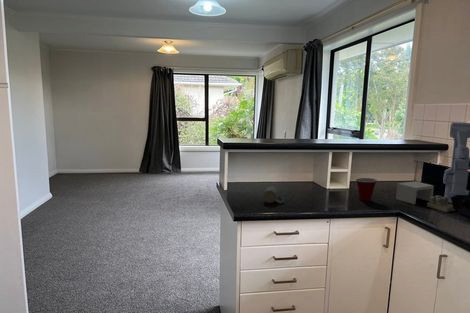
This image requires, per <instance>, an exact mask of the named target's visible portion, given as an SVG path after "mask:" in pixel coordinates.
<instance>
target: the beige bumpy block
mask: <svg viewBox="0 0 470 313" xmlns="http://www.w3.org/2000/svg"><path fill="white" fill-rule="evenodd" d="M426 207H427V208H431V209H435V210H438V211H441V212H444V213H448V212H453V211H455V210H454V209H453V204H452V203H449V202H448V198H447V197H444V196H442V195H437V194H436V195H435V196H434V195H433V196H430V201H427V202H426Z"/></svg>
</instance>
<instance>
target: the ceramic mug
mask: <svg viewBox="0 0 470 313" xmlns="http://www.w3.org/2000/svg"><path fill="white" fill-rule="evenodd" d="M262 198H263V200H264V201H265V203H266V204H267V203H268V204H273V203H275V202H276V203H277V204H283V203H284V201H285V200H284V198H283V197H282V196H280V191H279V189H278V188H277V187H276V186H268V187H267V188H265V191H264V192H263V195H262Z"/></svg>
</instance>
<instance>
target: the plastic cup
mask: <svg viewBox="0 0 470 313" xmlns="http://www.w3.org/2000/svg"><path fill="white" fill-rule="evenodd" d="M355 181H356V183H357V192H358V198H359V201H362V202H365V203H367V202H371V200H372V197H373V194H374V191H375V186H376V182H378V180H377V179H376V178H372V177H371V178H369V177H367V178H366V177H361V178H360V177H359V178H356V179H355Z"/></svg>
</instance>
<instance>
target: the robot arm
mask: <svg viewBox="0 0 470 313" xmlns="http://www.w3.org/2000/svg"><path fill="white" fill-rule="evenodd" d="M449 137H450V138H452V139H453V149H452V156H451V165H450V167H449V168H447V169H445V170H444V174H443V178H442V179H443V180H442V181H443V182H442V183H443V184H445V188H444V189H445V191H444V196H443V197H447V198H448V203H449V204H451V205H453V209H454V211H460V209H461V207H462V204H463V203H464V202H465V200H466V199H467V196H468V195H469V194H470V190H468V189H467V185H468V178H469V171H470V148H469V147H468V146H467V145H468V139H470V122H453V121H452V122H451V123H450V127H449Z"/></svg>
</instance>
